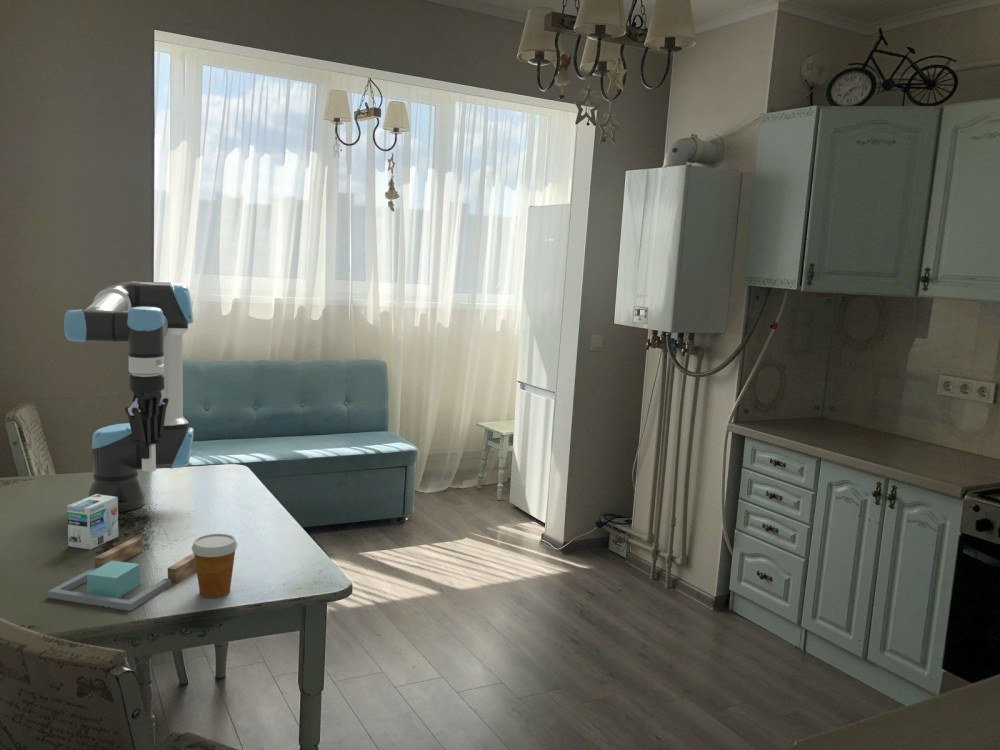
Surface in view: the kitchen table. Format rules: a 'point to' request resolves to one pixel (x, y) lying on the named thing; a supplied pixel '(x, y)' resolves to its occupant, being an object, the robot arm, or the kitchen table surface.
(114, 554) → the wooden guide rails
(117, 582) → the teal block
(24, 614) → the kitchen table surface
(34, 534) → the kitchen table surface
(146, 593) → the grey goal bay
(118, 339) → the robot arm
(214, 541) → the disposable coffee cup
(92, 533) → the light bulb box
